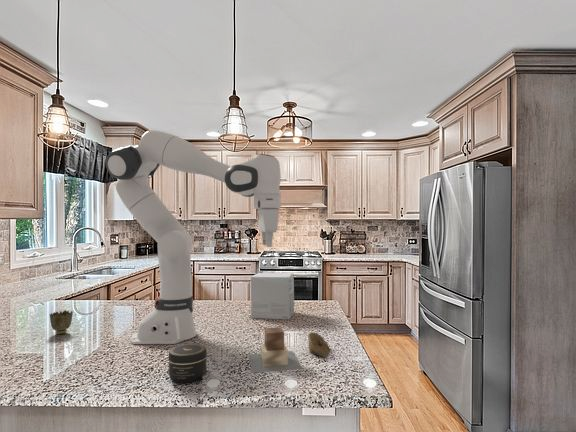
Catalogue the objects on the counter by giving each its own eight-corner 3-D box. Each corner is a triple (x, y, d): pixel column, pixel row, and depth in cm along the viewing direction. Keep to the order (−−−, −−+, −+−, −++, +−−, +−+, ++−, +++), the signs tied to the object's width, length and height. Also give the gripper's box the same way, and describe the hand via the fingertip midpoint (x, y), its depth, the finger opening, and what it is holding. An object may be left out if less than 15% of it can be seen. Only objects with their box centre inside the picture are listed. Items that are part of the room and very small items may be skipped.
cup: (77, 332, 142) (77, 311, 142) (58, 337, 135) (58, 315, 135) (64, 330, 145) (64, 309, 145) (45, 335, 138) (45, 313, 138)
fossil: (310, 342, 110) (310, 326, 120) (300, 352, 111) (301, 335, 121) (332, 361, 111) (330, 343, 121) (323, 371, 112) (322, 352, 121)
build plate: (252, 376, 100) (252, 372, 100) (248, 357, 114) (248, 354, 114) (302, 372, 103) (302, 368, 103) (292, 354, 117) (292, 351, 117)
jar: (204, 384, 96) (203, 355, 96) (164, 386, 95) (164, 356, 95) (209, 369, 105) (209, 342, 106) (173, 370, 105) (173, 343, 105)
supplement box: (294, 312, 170) (294, 272, 170) (289, 320, 157) (289, 277, 157) (258, 311, 173) (257, 272, 173) (250, 318, 160) (250, 276, 160)
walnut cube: (266, 350, 106) (266, 333, 106) (264, 345, 111) (264, 328, 111) (284, 349, 107) (284, 332, 107) (281, 343, 111) (281, 327, 112)
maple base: (263, 366, 104) (263, 352, 104) (260, 357, 111) (260, 344, 111) (288, 364, 106) (287, 350, 106) (283, 355, 113) (283, 342, 113)
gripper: (254, 205, 132) (254, 244, 132) (261, 202, 112) (260, 248, 112) (272, 205, 133) (272, 243, 133) (281, 202, 113) (281, 247, 113)
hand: (267, 245), depth 122 cm, fingers open, 8 cm apart
